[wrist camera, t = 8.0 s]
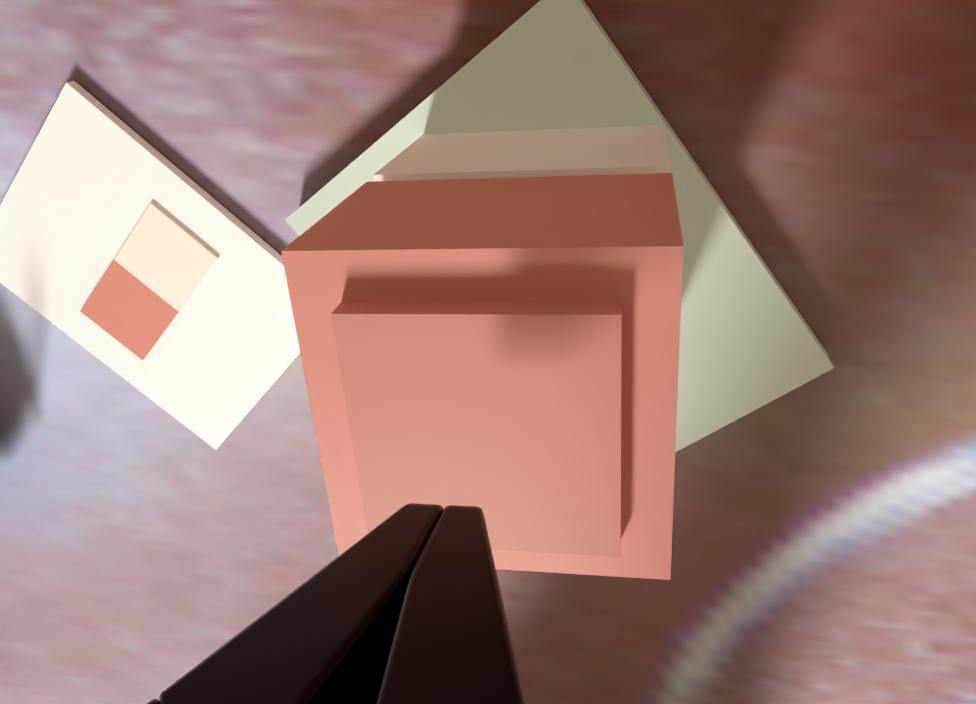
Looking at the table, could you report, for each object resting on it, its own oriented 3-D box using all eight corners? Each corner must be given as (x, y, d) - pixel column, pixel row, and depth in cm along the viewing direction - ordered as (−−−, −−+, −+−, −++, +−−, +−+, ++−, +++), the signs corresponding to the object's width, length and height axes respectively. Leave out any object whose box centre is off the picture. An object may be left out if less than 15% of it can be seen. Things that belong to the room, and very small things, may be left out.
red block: (663, 444, 15) (671, 600, 11) (401, 436, 16) (331, 576, 12) (672, 172, 12) (684, 257, 9) (367, 181, 13) (268, 262, 10)
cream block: (658, 349, 18) (663, 443, 15) (445, 346, 19) (400, 435, 15) (664, 124, 16) (671, 171, 12) (423, 133, 17) (366, 180, 13)
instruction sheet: (340, 305, 20) (335, 312, 20) (220, 444, 23) (214, 452, 22) (74, 80, 19) (63, 83, 18) (-21, 256, 21) (-33, 260, 21)
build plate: (826, 352, 18) (834, 367, 18) (549, 501, 21) (546, 520, 21) (568, -22, 16) (564, -22, 15) (298, 209, 19) (284, 219, 18)
